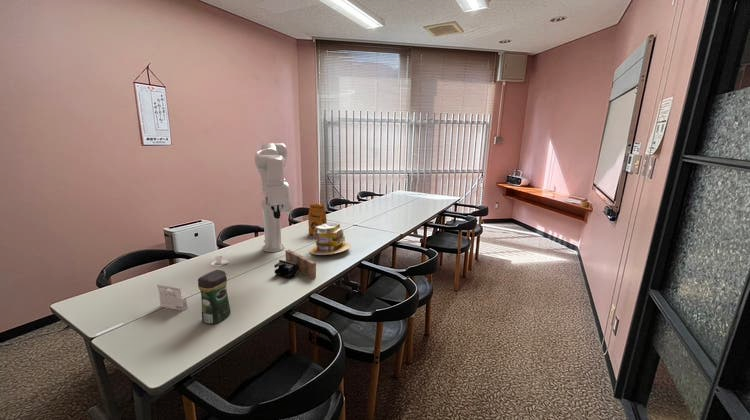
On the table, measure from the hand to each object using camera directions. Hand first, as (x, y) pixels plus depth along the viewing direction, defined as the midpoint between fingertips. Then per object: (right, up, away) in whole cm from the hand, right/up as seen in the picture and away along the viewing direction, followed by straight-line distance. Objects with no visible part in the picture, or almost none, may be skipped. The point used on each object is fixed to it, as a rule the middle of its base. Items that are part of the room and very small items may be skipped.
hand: (277, 217), depth 157 cm
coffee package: (+10, -13, +62) cm, 64 cm away
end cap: (+5, -29, -1) cm, 29 cm away
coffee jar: (-11, -38, -38) cm, 55 cm away
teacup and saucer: (-33, -26, +6) cm, 43 cm away
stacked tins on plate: (+22, -21, +32) cm, 45 cm away
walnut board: (+11, -28, +4) cm, 30 cm away
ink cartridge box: (-31, -35, -33) cm, 57 cm away
